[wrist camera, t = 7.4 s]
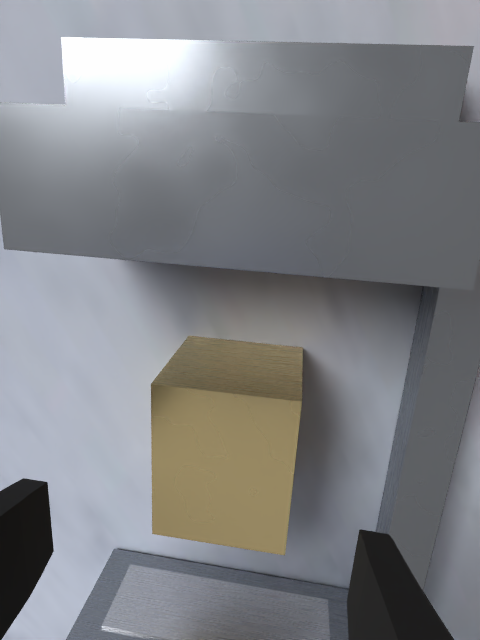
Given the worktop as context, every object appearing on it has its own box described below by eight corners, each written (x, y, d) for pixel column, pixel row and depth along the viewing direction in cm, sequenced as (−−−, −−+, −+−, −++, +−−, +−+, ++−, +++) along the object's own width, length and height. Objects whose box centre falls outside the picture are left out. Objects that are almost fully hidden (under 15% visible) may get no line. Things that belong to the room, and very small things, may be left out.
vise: (120, 697, 21) (68, 842, 17) (97, 59, 13) (-25, -15, 8) (367, 751, 20) (385, 926, 15) (525, 71, 11) (680, -11, 7)
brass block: (186, 455, 17) (152, 533, 13) (189, 334, 15) (151, 383, 11) (289, 469, 16) (284, 555, 12) (302, 346, 15) (301, 402, 11)
